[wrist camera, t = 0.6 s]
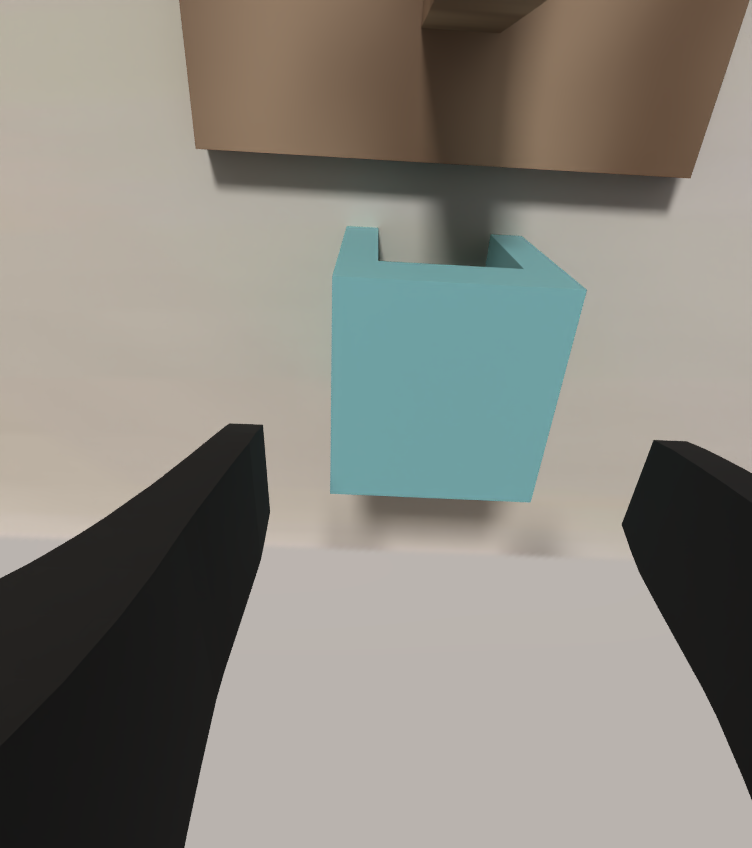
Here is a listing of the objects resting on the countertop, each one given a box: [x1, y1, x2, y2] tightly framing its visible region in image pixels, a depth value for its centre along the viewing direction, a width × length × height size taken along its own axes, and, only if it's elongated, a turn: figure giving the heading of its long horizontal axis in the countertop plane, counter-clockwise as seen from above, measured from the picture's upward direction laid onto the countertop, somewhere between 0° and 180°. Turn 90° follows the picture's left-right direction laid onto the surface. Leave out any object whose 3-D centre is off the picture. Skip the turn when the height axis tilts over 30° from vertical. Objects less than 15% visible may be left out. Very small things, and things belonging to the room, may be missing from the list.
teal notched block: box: [330, 226, 587, 502], centre depth 15 cm, size 6×6×6 cm
